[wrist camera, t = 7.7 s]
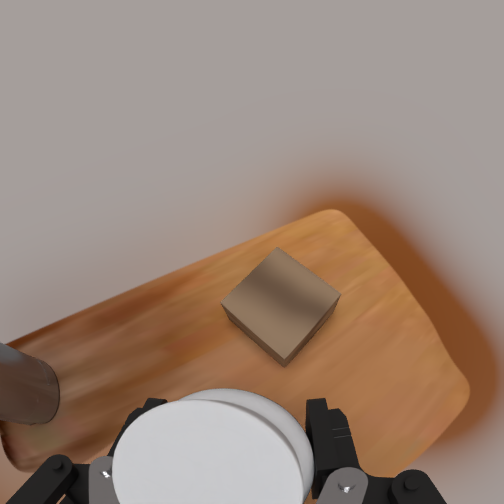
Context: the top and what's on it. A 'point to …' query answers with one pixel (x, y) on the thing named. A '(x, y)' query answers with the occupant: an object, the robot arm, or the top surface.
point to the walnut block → (281, 305)
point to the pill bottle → (214, 453)
